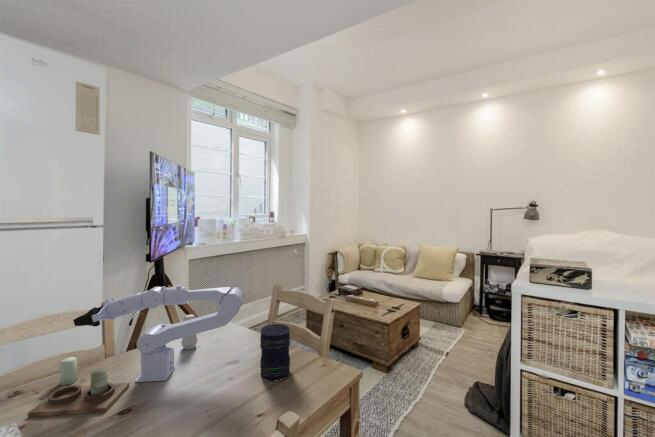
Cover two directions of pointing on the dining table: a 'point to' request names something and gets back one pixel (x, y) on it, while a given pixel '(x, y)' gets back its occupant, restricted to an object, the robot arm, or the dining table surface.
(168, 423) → the dining table surface
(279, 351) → the storage jar
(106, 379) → the peg stand
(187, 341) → the salt shaker
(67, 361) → the loose peg
